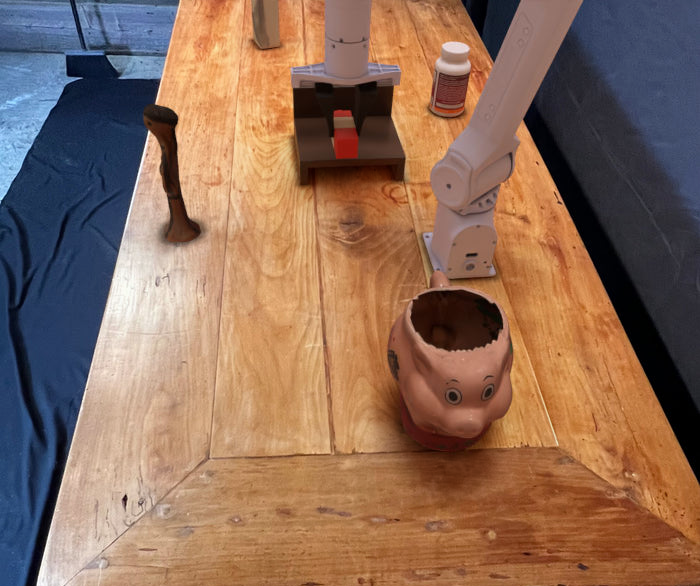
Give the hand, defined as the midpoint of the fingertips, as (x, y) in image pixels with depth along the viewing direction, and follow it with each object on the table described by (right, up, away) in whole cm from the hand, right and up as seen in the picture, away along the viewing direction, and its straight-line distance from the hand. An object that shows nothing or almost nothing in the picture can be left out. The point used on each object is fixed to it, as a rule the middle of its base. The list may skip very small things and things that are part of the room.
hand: (343, 133), depth 89 cm
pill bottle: (+18, +12, +24) cm, 33 cm away
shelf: (0, 0, +12) cm, 12 cm away
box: (-16, +32, +40) cm, 54 cm away
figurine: (-22, -14, -2) cm, 27 cm away
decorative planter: (+10, -37, -21) cm, 44 cm away
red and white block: (0, -1, +1) cm, 2 cm away
